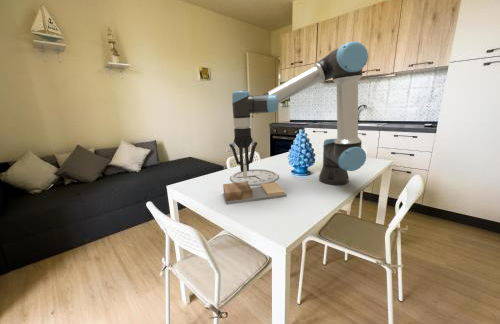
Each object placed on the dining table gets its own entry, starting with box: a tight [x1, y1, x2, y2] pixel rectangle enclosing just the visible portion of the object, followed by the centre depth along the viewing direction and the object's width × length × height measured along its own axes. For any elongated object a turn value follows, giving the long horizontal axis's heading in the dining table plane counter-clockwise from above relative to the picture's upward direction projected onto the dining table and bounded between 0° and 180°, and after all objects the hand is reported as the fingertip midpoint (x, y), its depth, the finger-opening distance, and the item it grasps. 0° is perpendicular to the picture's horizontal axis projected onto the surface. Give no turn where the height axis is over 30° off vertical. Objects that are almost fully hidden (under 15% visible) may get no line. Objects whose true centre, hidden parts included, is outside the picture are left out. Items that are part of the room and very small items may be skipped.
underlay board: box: [225, 181, 288, 205], centre depth 106 cm, size 28×14×2 cm, turn 101°
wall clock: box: [229, 168, 280, 187], centre depth 132 cm, size 30×2×30 cm
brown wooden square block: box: [222, 182, 252, 203], centre depth 104 cm, size 4×12×12 cm
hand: (245, 177), depth 103 cm, fingers closed
